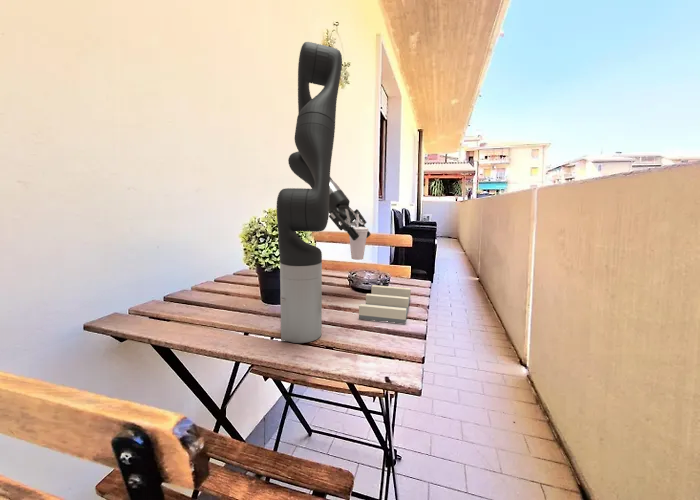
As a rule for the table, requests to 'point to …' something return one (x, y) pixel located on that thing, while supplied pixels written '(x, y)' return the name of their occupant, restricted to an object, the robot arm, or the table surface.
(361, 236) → the smoothie
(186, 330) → the table surface
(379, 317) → the rack
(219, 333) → the table surface
